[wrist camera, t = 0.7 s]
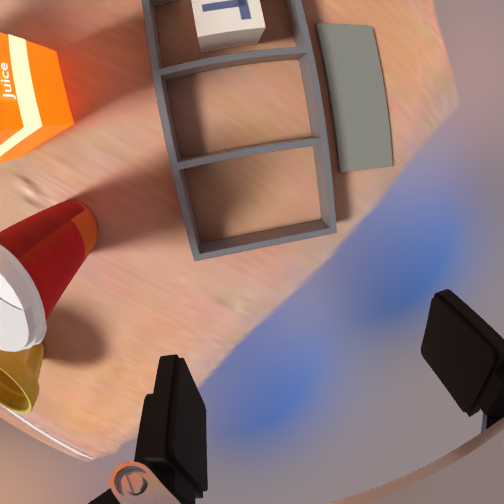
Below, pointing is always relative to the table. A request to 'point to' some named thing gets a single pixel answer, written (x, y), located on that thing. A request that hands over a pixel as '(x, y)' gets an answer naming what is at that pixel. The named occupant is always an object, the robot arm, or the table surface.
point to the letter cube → (227, 23)
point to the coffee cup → (40, 268)
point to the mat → (356, 96)
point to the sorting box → (317, 140)
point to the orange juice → (29, 97)
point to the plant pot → (20, 378)
